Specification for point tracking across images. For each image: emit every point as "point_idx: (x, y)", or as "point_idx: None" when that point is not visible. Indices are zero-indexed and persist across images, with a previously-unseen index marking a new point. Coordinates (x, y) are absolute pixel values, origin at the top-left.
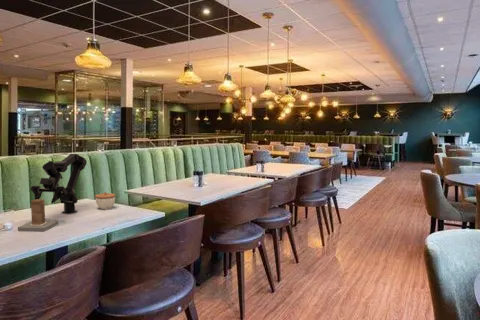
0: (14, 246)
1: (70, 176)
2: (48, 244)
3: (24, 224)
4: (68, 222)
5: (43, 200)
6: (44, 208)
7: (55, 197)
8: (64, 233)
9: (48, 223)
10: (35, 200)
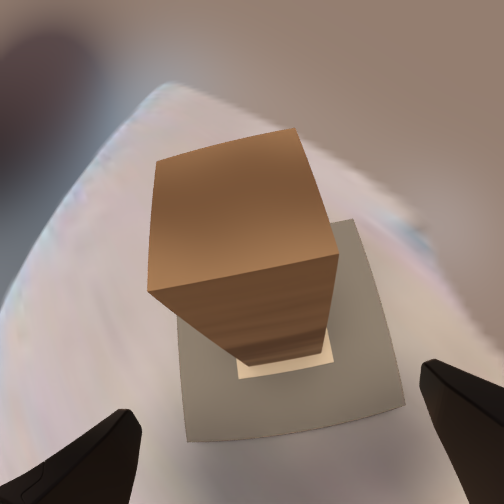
0: (193, 113)
1: None
2: (98, 161)
3: (372, 282)
4: (156, 485)
5: (155, 269)
6: (208, 335)
7: (47, 473)
8: (80, 271)
9: (210, 356)
10: (257, 173)
